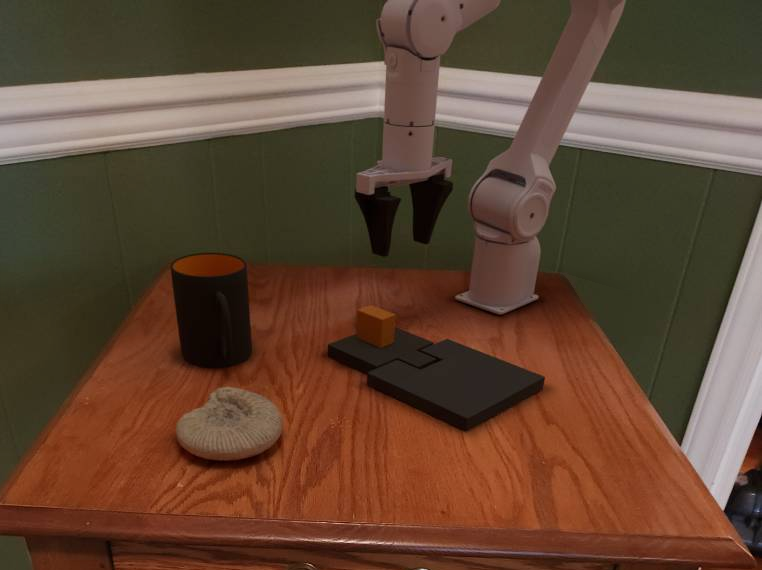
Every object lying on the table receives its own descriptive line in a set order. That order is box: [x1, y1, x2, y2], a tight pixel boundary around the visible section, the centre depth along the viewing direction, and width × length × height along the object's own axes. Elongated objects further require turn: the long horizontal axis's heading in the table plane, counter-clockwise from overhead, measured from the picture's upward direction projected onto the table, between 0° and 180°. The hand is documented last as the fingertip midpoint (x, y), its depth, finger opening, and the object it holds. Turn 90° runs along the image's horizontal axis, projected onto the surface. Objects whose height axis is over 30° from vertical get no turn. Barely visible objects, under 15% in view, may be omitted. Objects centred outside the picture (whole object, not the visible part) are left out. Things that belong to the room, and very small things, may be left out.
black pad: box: [327, 304, 436, 375], centre depth 85 cm, size 10×11×5 cm
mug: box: [169, 252, 253, 369], centre depth 82 cm, size 8×12×10 cm
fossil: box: [175, 386, 283, 462], centre depth 70 cm, size 11×4×10 cm
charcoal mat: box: [366, 338, 546, 432], centre depth 81 cm, size 14×14×2 cm
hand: (401, 248), depth 90 cm, fingers open, 7 cm apart
